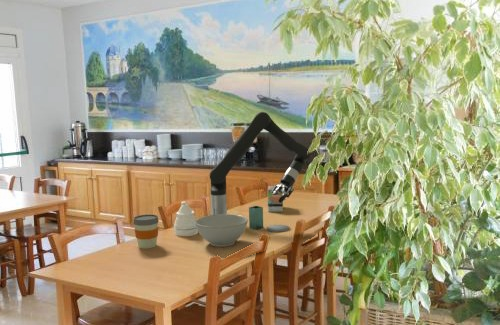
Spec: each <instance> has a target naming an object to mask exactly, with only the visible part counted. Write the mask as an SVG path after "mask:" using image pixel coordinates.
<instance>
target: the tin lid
mask: <svg viewBox="0 0 500 325" xmlns="http://www.w3.org/2000/svg"><path fill="white" fill-rule="evenodd" d="M281 196H282V195H280V194H276V195H271V196H270V200H271V201H273V203H276V204H279V203H280V202H279V199H280V197H281ZM284 201H286V198H285V199H284V200H283V202H282V203H283V204H284Z"/></svg>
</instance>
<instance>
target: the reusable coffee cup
mask: <svg viewBox="0 0 500 325" xmlns="http://www.w3.org/2000/svg"><path fill="white" fill-rule="evenodd" d="M133 225H134V233H135V234H134V235H135V238H136V241H137V246H138V248H139V249H151V248H155V247H156V246H157V240H158V236H159V226H158V225H159V216H158V215H156V214H141V215H136V216H134V217H133Z"/></svg>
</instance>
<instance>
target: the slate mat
mask: <svg viewBox="0 0 500 325" xmlns="http://www.w3.org/2000/svg"><path fill="white" fill-rule="evenodd" d="M266 230H267V231H268V232H271V233H284V232H288V231H290V230H291V227H290V226H288V225H286V224H272V225H268V226H266Z"/></svg>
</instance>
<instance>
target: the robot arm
mask: <svg viewBox="0 0 500 325" xmlns="http://www.w3.org/2000/svg"><path fill="white" fill-rule="evenodd" d="M263 130H265V131H266V132H268V133H269V134H271V135H272V136H273V137H274V138H275V139H276V141H278V143H280V144H281V145H282V147H284V148H285V149H286V150H288V151H289V152H293V153H295V156H294V158H293V161H292V162H291V164H290V165H289V166H288V168H287V169H286V171H285V172H284V174H283V175H282V177H281V179H280V183H279V184H277V183H274V185H273V186H274V187H273V189H272V191H271V193H272V195H276V194H280V193H282V196H281V197H280V199H279V202H280V203H282V202H283V203H284V201H285V200H284V199H286V198H290V196H291V195H292V193H293V192H294V191H295V190H294V187H293V186H294V185H295V183H296V181H297V180H298V177H299V175H300V173H301V172H302V170H303V168H304V165H305V164H306V162H307V161H308V160H309V159H310V158H311V156H312V153H310V154H308V155H307V151H308V149H309V148H308V147H307V146H305V145H303V144H301V143H300V142H298V141H297V140H296V139H294V138H293V137H292V136H291V135H290V134H289V133H287V132H286V131H285V130H284V129H282V128H281V127H279V126H278V124H276V122H275V121H274V120H273V119H272V118H271V116H270V115H269V113H267V112H265V111H260V112H257V113H256V114H255V115H254V117H253V118H252V121H251V122H250V124H248V127H246V129H245V130H244V131H243V132H242V133H241V134H240V135H239V136H238V138H236V139H235V141H234V142H233V143H232V144H231V146H230V147H229V148H228V150H227V152H226V154H225V155H224V156H223V158H222V159H221V161H220V162H219V163H218V164H217V165H216V166H215V167H213V168H212V169H211V171H210V172H209V180H210V206H209V211H210V212H209V214H210V215H219V214H228V210H227V209H228V208H227V207H228V206H227V204H228V203H227V176H228V174H229V173H230V171H231V170H232V169H233V167H234V166H235V165H237V163H238V162H239V161H240V160H241V159H242V158H243V157H244V156H245V155H246V154H247V152H248V151H249V150H250V148H251V147H252V146H253V143H254V142H255V140H256V138H257V137H258V135H259V134H260V133H261V132H262V131H263ZM273 191H274V192H273ZM278 191H279V192H278ZM276 192H277V193H276ZM275 193H276V194H275ZM210 215H209V216H210Z"/></svg>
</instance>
